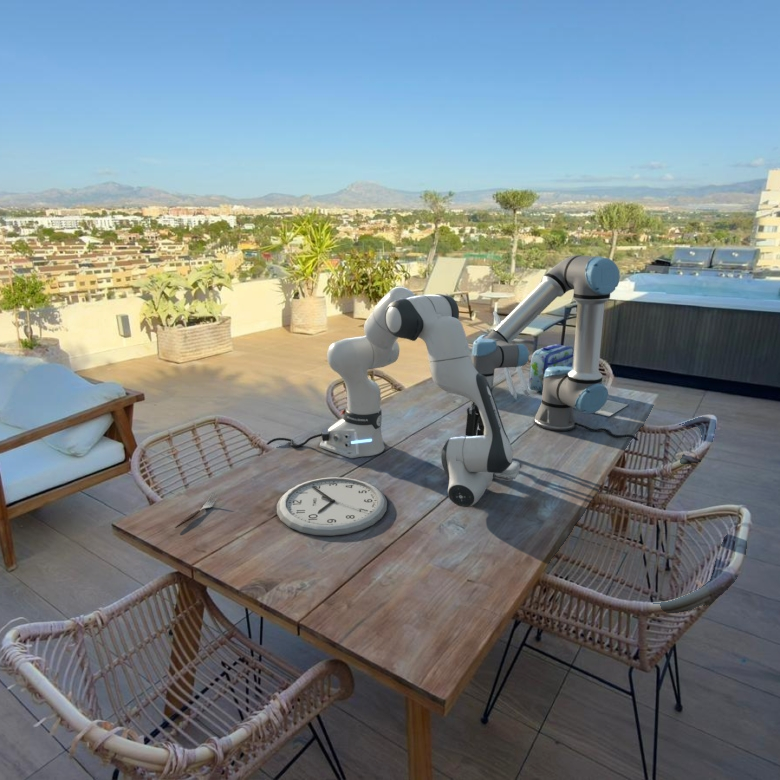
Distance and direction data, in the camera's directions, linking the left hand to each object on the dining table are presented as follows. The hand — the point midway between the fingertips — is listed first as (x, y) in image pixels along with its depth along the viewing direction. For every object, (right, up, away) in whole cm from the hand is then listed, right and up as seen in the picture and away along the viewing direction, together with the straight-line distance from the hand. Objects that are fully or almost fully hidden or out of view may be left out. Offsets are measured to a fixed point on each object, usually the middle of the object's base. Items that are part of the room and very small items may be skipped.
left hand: (490, 454), depth 161 cm
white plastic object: (+11, +19, +82) cm, 85 cm away
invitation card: (+60, +13, +65) cm, 90 cm away
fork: (-82, -13, -24) cm, 86 cm away
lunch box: (+45, +20, +89) cm, 102 cm away
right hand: (-2, -1, +18) cm, 18 cm away
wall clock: (-47, -12, -18) cm, 52 cm away
